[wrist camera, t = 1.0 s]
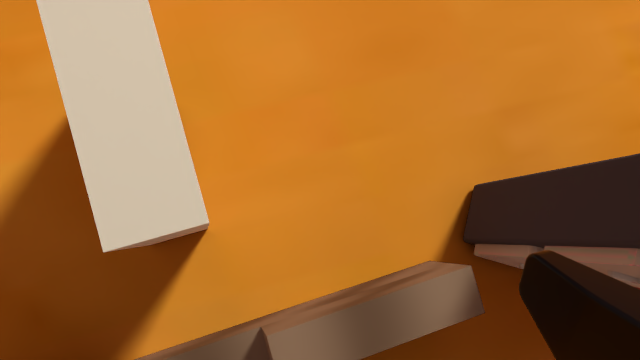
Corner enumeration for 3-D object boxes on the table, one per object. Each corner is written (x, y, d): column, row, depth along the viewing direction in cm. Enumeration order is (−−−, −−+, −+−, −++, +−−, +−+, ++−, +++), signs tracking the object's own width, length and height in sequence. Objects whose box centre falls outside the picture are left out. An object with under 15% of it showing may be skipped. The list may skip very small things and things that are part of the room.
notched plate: (207, 228, 23) (209, 222, 12) (150, 245, 22) (103, 252, 12) (160, 58, 23) (125, -84, 13) (103, 69, 22) (17, -70, 12)
